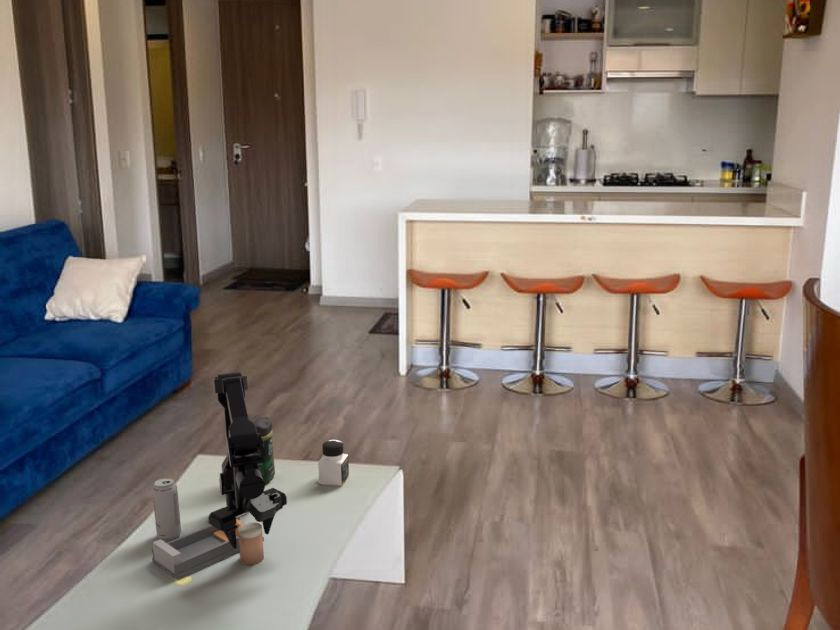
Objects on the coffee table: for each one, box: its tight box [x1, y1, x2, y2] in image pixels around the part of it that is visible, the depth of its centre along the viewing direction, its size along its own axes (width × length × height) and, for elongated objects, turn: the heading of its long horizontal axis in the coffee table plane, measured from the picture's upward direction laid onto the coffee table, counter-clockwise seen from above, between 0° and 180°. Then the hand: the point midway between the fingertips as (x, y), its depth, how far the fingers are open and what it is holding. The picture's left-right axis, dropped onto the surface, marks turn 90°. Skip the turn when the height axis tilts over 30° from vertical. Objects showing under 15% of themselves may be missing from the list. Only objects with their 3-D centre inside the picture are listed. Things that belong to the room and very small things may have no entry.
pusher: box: [213, 519, 245, 542], centre depth 200 cm, size 8×5×4 cm, turn 46°
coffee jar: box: [249, 416, 276, 484], centre depth 234 cm, size 10×8×19 cm
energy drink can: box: [152, 477, 182, 542], centre depth 202 cm, size 6×6×15 cm
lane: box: [151, 516, 265, 580], centre depth 196 cm, size 12×24×6 cm, turn 136°
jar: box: [238, 521, 265, 566], centre depth 192 cm, size 6×6×8 cm
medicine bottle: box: [317, 439, 350, 487], centre depth 233 cm, size 7×7×12 cm
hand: (250, 540), depth 192 cm, fingers open, 9 cm apart
